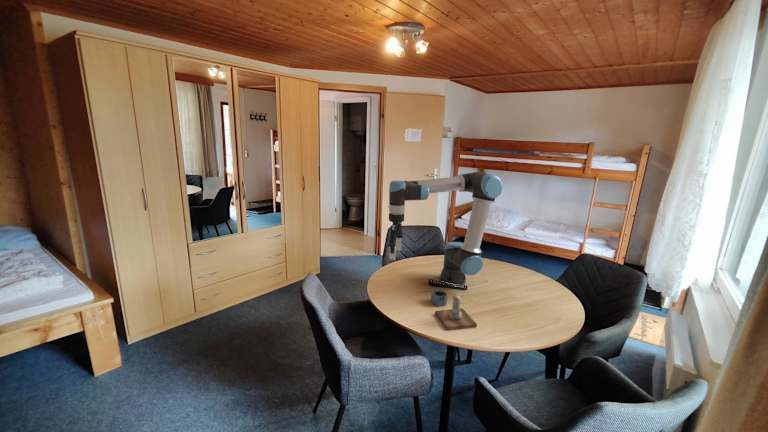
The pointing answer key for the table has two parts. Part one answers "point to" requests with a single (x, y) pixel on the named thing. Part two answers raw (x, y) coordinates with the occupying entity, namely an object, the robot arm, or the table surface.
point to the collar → (439, 298)
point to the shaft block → (455, 317)
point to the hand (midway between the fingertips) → (395, 254)
